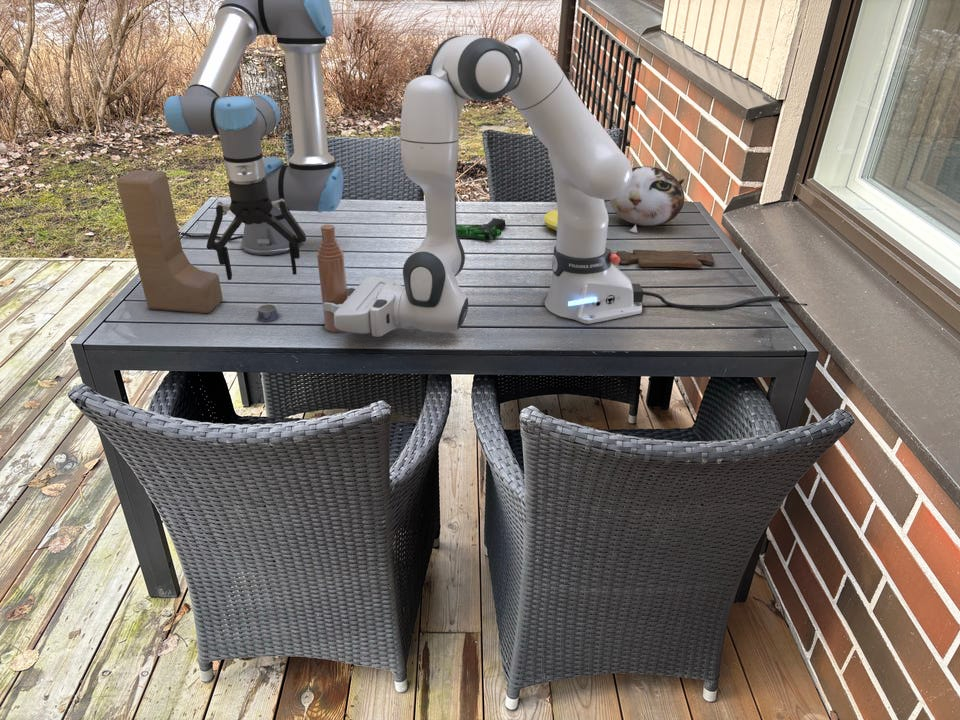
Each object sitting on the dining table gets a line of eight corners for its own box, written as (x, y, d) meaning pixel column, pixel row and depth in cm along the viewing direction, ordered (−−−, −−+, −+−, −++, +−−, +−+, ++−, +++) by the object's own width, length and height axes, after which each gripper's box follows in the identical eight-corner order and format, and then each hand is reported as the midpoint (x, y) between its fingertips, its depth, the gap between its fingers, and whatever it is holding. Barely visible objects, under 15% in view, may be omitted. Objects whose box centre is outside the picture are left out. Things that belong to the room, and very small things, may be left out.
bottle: (344, 318, 160) (335, 220, 149) (354, 328, 156) (345, 228, 145) (321, 324, 158) (309, 224, 146) (330, 334, 154) (319, 233, 142)
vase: (559, 216, 220) (561, 193, 217) (605, 227, 212) (608, 204, 209) (532, 230, 209) (533, 207, 206) (580, 242, 201) (582, 218, 198)
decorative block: (209, 314, 161) (183, 183, 145) (146, 309, 162) (114, 179, 147) (224, 300, 167) (200, 172, 152) (163, 295, 169) (134, 168, 153)
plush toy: (590, 213, 207) (612, 150, 209) (606, 237, 223) (627, 178, 224) (664, 227, 196) (687, 160, 198) (675, 250, 212) (697, 189, 214)
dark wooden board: (718, 270, 186) (709, 256, 195) (719, 264, 186) (710, 250, 194) (619, 267, 187) (614, 252, 195) (620, 261, 186) (615, 247, 194)
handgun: (511, 219, 210) (493, 234, 198) (511, 228, 211) (492, 244, 199) (461, 212, 215) (440, 226, 203) (461, 221, 217) (440, 236, 204)
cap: (255, 318, 160) (253, 309, 159) (269, 311, 163) (268, 302, 161) (267, 323, 158) (265, 314, 157) (281, 316, 161) (279, 307, 159)
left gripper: (179, 188, 139) (200, 287, 150) (310, 180, 144) (321, 276, 155) (183, 176, 145) (204, 272, 156) (309, 169, 150) (320, 262, 161)
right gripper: (406, 272, 158) (348, 266, 161) (374, 313, 141) (309, 305, 144) (407, 298, 162) (350, 291, 164) (376, 341, 144) (312, 333, 147)
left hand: (262, 274), depth 155 cm, fingers open, 13 cm apart
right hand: (330, 298), depth 154 cm, fingers closed on bottle, 5 cm apart
